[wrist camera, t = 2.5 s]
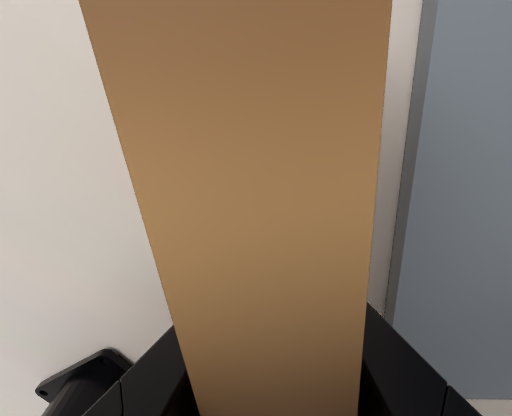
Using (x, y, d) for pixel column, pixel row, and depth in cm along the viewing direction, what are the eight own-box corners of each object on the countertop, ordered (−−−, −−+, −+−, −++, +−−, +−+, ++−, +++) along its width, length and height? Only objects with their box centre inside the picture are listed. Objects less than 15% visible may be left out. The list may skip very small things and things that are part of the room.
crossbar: (312, 337, 15) (341, 593, 8) (264, 337, 15) (249, 584, 8) (306, 0, 9) (414, -262, 2) (226, 10, 9) (26, -179, 2)
